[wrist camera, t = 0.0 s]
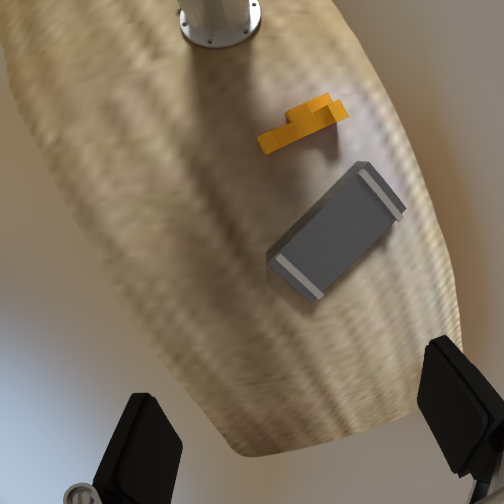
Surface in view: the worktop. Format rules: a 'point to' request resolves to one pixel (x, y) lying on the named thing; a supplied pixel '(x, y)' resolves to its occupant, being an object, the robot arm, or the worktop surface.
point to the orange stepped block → (303, 122)
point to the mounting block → (335, 231)
